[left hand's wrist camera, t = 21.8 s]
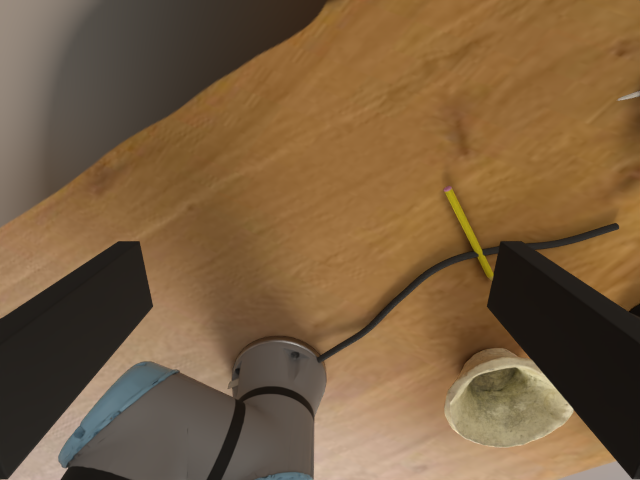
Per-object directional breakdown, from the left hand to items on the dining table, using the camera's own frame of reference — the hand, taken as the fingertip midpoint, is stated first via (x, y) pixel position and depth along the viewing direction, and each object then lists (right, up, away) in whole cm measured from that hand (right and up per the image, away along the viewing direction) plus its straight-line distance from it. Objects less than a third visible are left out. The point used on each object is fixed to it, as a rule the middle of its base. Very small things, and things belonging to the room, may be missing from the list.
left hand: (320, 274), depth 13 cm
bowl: (+27, -20, +43) cm, 55 cm away
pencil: (+21, +2, +35) cm, 41 cm away
